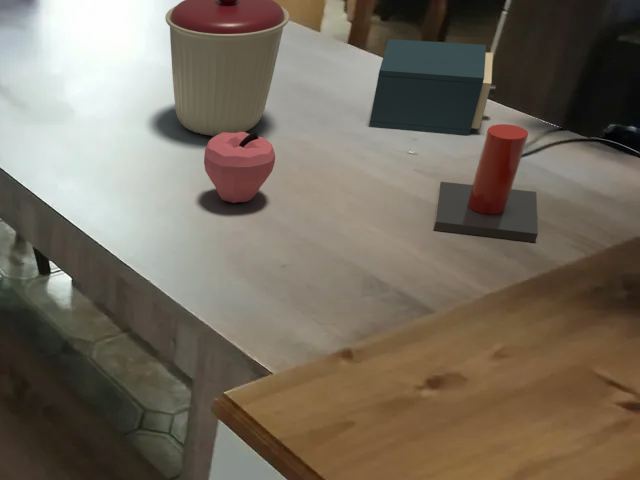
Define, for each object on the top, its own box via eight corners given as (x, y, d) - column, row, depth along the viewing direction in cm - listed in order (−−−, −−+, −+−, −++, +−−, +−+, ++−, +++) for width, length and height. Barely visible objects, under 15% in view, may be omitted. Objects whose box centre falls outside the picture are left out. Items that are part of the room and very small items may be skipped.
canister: (300, 124, 146) (320, -21, 132) (218, 158, 138) (231, 8, 124) (217, 94, 157) (228, -43, 143) (137, 123, 149) (141, -18, 135)
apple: (259, 182, 132) (267, 112, 125) (278, 210, 125) (288, 138, 118) (193, 189, 131) (198, 119, 124) (209, 217, 125) (215, 145, 118)
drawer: (489, 97, 148) (501, 53, 144) (487, 129, 139) (500, 84, 134) (393, 89, 153) (402, 46, 148) (385, 120, 143) (394, 76, 139)
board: (533, 200, 124) (536, 191, 123) (535, 242, 115) (538, 233, 115) (438, 189, 127) (440, 181, 126) (433, 230, 119) (435, 221, 118)
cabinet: (472, 100, 150) (486, 44, 144) (469, 135, 140) (484, 77, 134) (378, 92, 154) (388, 38, 149) (368, 126, 144) (379, 70, 138)
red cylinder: (505, 200, 121) (528, 126, 115) (505, 216, 118) (528, 140, 112) (467, 196, 123) (488, 122, 116) (466, 212, 120) (487, 136, 113)
